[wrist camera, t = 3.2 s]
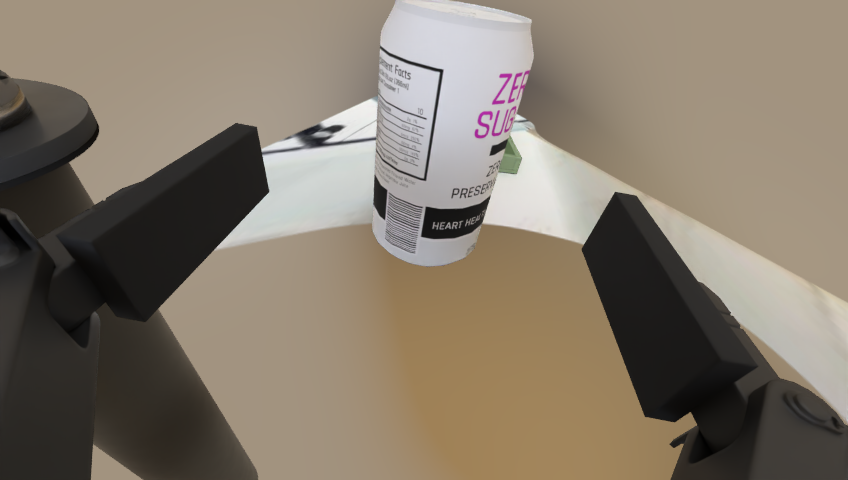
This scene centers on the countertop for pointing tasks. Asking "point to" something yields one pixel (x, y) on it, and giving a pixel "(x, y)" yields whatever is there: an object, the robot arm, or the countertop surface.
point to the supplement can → (443, 123)
